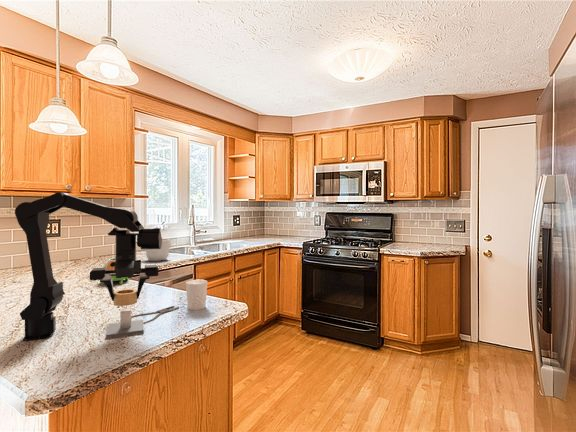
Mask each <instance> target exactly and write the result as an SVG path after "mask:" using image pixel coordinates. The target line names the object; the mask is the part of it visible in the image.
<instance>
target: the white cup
mask: <svg viewBox="0 0 576 432" xmlns="http://www.w3.org/2000/svg"><path fill="white" fill-rule="evenodd" d="M185 289H186V291H185V292H186V301H187V302H186V303H187V308H186V309H188V310H190V311H191V310H192V311H199V310H203V309H205V308H206V305H207V295H208V294H207V293H208V280H205V279H191V280H188V281H186V282H185Z"/></svg>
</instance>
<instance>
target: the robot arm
mask: <svg viewBox="0 0 576 432" xmlns="http://www.w3.org/2000/svg"><path fill="white" fill-rule="evenodd" d="M62 208H66V209H70V210H73V211H77V212H80V213H84V214H87V215H91V216H93V217H97V218H100V219H102V220H103V221H106V222H107V223H109V224H111V225H113V226H115V227H113V229H112V230H110V231H108V233H107V236H115V248H114V249H115V250H114V251H115V255H114V257H115V270H107V269H106V267H104V266H103V267H104V268H103V267H93V268H92V269H91V270H90V272H89V281H99V283H100V284H102V283H104V284H103V285H105V287H106V289H107V290H108V292H109V296H110V299H111V301H112V302H114V292H115V291H114V283H113V282H114V281H113V280H112V277H111V276H116V278H123V277H128V279H129V278H133V277H134V276H135V275H139V276H138V283H137V289H136V290H137V300H138V299H139V297H140V294H141V292H142V289H143V287H144V283H146V281H147V280H150V278H151V277H158V276H159V266H158V265H156V264H144V267H142V260H141V259H137V247H138V248H140V249H141V250H143V251H144V250H145V251H146V249H161V246H162V239H163V237H162V232H161V228H160V227H154V228H145V227H144V226H143V225H142V223H141V222H140V221H139V218H138V214H137V213H136V211H134V210H132V209H129V208H121V207H113V206H108V205H104V204H101V203H96V202H94V201H90V200H88V199H84V198H81V197H77V196H73V195H71V194H70V193H67V192H55V193H53V194H51V195H47V196H45V197H42V198H39V199H35V200H33V201H24V202H21V203H19V204H18V205H17V206H16V207H15V208H14V215H15V218H16V221H17V224H18V225H19V227H20V228H21V229H22V231H23V232H24V233H25V235H26V236H25V237H26V242H27V248H28V255H29V260H30V265H31V266H30V267H31V273H32V279H33V284H32V285H31V286H32V287H31V290H30V294H29V304H28V305H27V306H26V307H25V308H24V309H23V310H21V312H19V316H20V319H21V320H22V321H24V337H23V338H22V341H23V342H25V341H30V340H31V341H32V340H39V339H48V338H51V336H52V335H53V334H54V333H55V331H56V329H57V328H56V326H57V325H56V323H57V322H56V319H57V318H56V316H54V311H56V309H57V306H58V305H60V304H61V302H62V301H63V298H64V296H65V295H66V292H65V291H64V282H63V281H60V282H57V280H56V279H55V278H54V273H53V267H52V262H51V256H50V248H49V242H48V237H47V236H48V235H47V230H48V225H49V223H50V214H54V213H55V212H57V211H59V210H60V209H62Z"/></svg>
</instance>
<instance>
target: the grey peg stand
mask: <svg viewBox="0 0 576 432" xmlns="http://www.w3.org/2000/svg"><path fill="white" fill-rule="evenodd" d="M119 315H120V317H119V319H120V322H112V323H108V325H107V330H106V333H105V334H106V335H105V339H113V338H119V337H125V336H126V337H127V336H133V335H141V334H144V329H145V328H144V324H143V322H144V319H136V320H132V318H131V316H132V309H129V308H128V309H121V310H120V314H119Z"/></svg>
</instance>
